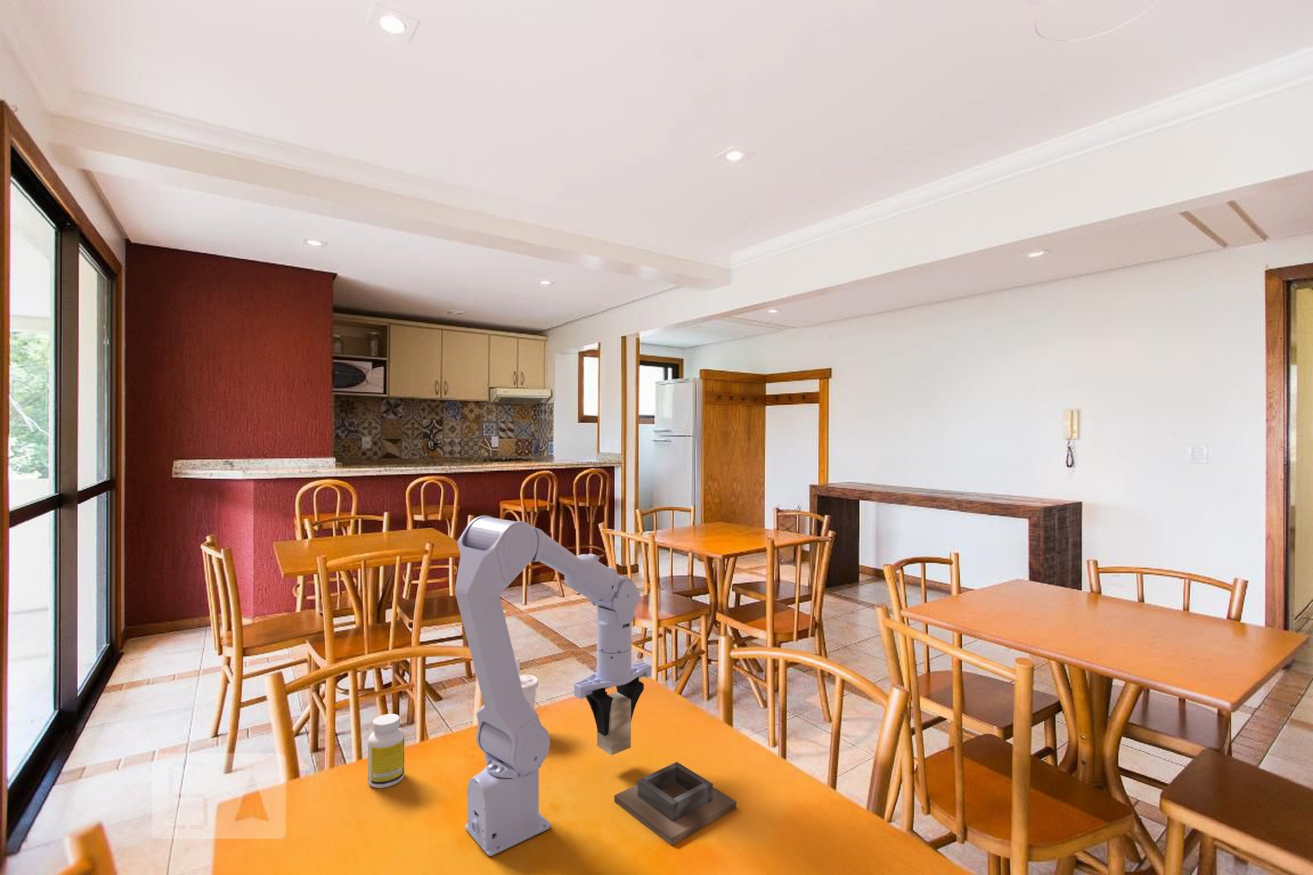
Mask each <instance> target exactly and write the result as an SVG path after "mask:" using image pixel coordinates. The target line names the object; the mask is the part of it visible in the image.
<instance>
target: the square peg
mask: <svg viewBox="0 0 1313 875" xmlns="http://www.w3.org/2000/svg"><path fill="white" fill-rule="evenodd" d="M607 695H609V696H611V697H612V698H613V701H612V704H611V708H610V714H609V731H608V735H606V736H603V735H602V734H600V733H599V732H598V731H597V730H596V746H597V747H598V748H599V749H601V750H602V751H604V752H605V753H607V754H608V755H609V756H613V755H616V754H619V753H620V752H624V751H626V750H628V749H631V747H632V736H631V735H632V730H631V729H632V720H631V699H629V698H627V697H625V696H624V695H622V694H620V693H618V692H617V691H614V692H611V693H607Z"/></svg>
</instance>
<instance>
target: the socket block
mask: <svg viewBox="0 0 1313 875" xmlns="http://www.w3.org/2000/svg"><path fill="white" fill-rule="evenodd" d="M613 799H614V800H613V801H614V803H615V804H617V805H618V806H619V807H621V809H623V810H624V811H625V812H626V813H628V814H629V815H631V816H632V817H634V818H635V819H636V820H638V821H639V822H640V823H641V824H642V825H644V826H645V827H646V828H647V829H648V830H650V831H651V832H653V833H654V834H656V835H657V836H658V837H659V838H660V839H662V840H663V841H664V842H666V844H669V845H670V846H674V845H675V844H677V843H679V842H680V841H682V840H684V839H686V838H687V837H688V836H691V835H692V834H694V833H696V832H697V831H699V830H701V829H702V828H705V827H706V826H708V825H709V824H712V823H714V822H715V821H716V820H718V819H720V818H722V817H724V816H726V815H727V814H729V813H731V812H732V811H734V810H736V809H737V808H738V807H737V801H736V800H735V799H733V798H732V797H730V796H728V795H726V794H725V793H724V792H722V791H720V790H719V789H717V788H716V787H714V783H713V782H711V781H710V780H708V779H706V778H704V777H702V776H701V775H699V774H698V773H696V772H694V771H693V770H691V769H689V768H688V767H686V766H685V765H683V764H682V763H679V761H676V762H673V763H671V764H669V765H667V766H665V767H663V768H661V769H658V770H656V771H655V772H654V771H653V772H652V773H650V774H647V775H645V776H643V777H642V778H639V779H637V784H636V785H633V786H631V787H629V788H627V789H625V790H622V791H620V792H618V793H616V794H614V797H613Z"/></svg>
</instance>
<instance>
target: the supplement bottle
mask: <svg viewBox="0 0 1313 875" xmlns="http://www.w3.org/2000/svg"><path fill="white" fill-rule="evenodd" d="M400 718H401V717H400V715H398V714H395V713H387V714H382V715H378V716H377V717H375V718H374V719H373V720H372V731H373V732H371V734H370V735H369V736H368V738H367V783H368V785H369V786H371V787H372V788H376V789H383V788H385V789H386V788H388V787H392V786H395V785H397V784H398V783H400V782H401V781H402V780H403V779H404V778H405V777H404V776H405V732H404V730H403V729H402V728H400V725H401V719H400Z"/></svg>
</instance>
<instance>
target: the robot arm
mask: <svg viewBox="0 0 1313 875" xmlns="http://www.w3.org/2000/svg"><path fill="white" fill-rule="evenodd" d="M456 544H457V547H458V550H459V555H460V557H459V563H458V569H457V573H456V574H457V575H456V582H455V589H454V590H455V598H456V601H457V606H458V610H459V612H460V613H459V614H460V616H461V621H462V626H463V629H464V633H465V637H466V640H467V641H466V642H467V644H468V648H469V652H470V655H471V660H472V664H473V667H474V668H473V669H474V672H475V675H476V679H477V681H478V686H479V690H480V694H481V698H482V703H483V705H481V706H480V708H479V709H478V710H477V712H476V713H475V714H476V718H477V722H478V724H477V731H476V744H477V745H478V748H479V749H480V751H482V752H484V761H485V762H486V766H485V767H484V769H483V770H481V771H480V772H478V773H477V774H476V775H474V776H473V777H471V778H470V779H469V781H468V783H467V792H466V793H467V794H466V796H467V823H466V824H465V826H464V827H465V828H464V829H465V830H466V831H467V832H468V833H469V835H471V837H472V838H473V839H474V840H475V842H476V844H478V845H479V846H480V847H481V849H482V850H483V852H485V854H486V855H487V856H489V857H492V856H494V855H496V854H500V853H501V852H503V851H505V850H507V849H509V848H511V847H514V846H515V845H518V844H519V843H522V842H524V841H526V840H528V839H530V838H533V837H535V836H537V835H538V834H541V833H543V832H545V831H547V830H549V829H551V827H552V824H551V822H550V821H549V820H548V819H547V818H546V817H545V816H543V814H541V813H540V793H539V792H540V779H539V778H540V777H539V776H540V771H539V770H540V768H542V764H543V763H544V761H545V760H546V759H547V756H548V753H549V751H550V745H551V738H550V733H549V731H548V730H547V728H546V727H545V726H543V725H542V723H541V721H540V717H539V714H538V713H537V711H536V710H535V707H534V708H533V707H532V706H531V705H530V703H529V702H528V701H527V700H526V698H525V697H524V694H523V690H522V686H521V681H520V677H519V675H520V672H519V673H518V669H517V665H516V658H515V653H514V649H513V645H512V640H511V637H510V636H511V635H510V632H509V628H508V625H507V624H508V623H507V620H506V616H505V613H504V608H503V604H502V600H501V594H502V593H503V591H504V590H505V589H507V588H508V587H509V585H510V584H511V583H512V582H513V581H515V580H516V578H517V577H518V576H519V575H520V573H522V572H523V570H525V569H526V568H527V566H528V565H529V564H530V563H531V562H534V563H536V562H539V563H541V564H543V565H545V566H547V567H548V568H551V569H553V571H556V572H558V573H559V574H562V575H564V581H565V584H566V586H567V587H568V588H570V589H572V590H573V591H575V592H576V593H579V594H580V595H582V596H584V597H585V598H587V599H589V601H590V603H591V605H592V606H593V607H594V606H596V668H595V670H596V672H594V673H592V674H591V675H589V676H587V677H585V678H584V679H582V680H580V681H577V682H575V683H574V684H573V696H575V697H576V698H578V699H580V700H583V699H586V700H587V702H588V704H589V706H590V709H591V712H592V713H593V717H594V721H595V724H596V732H597V731H598V732H599V733H600V734H602V735H603V736H606V735H608V731H609V714H610V708H611V704H612V701H613V698H612V697H611V696H609V695H608V691H606V690H607V689H609V688H614V687H616V692H618V693H620V694H622V695H624V696H625V697H627V698H629V699H631V721H632V718H633V715H634V712H635V709H636V706H637V703H638V700H639V699H640V697H641V694H643V692H644V689H645V685H644V682H642V681H640V679H641V678H649V677H652V665H651V664H649V663H647V662H645V661H643V662H639V663H634V664H632V624H633V623H632V622H633V621H634V619H635V610H636V607H637V605H638V602H639V600H640V591H638V588H637V585H636V584H635V582H634V580H633V579H631V578H630V577H626V576H622V575H619V574H618V573H617V569H616V568H615V567H611V566H606V565H605V564H603V563H602V562H600V561H599V560H600V557H599V556H598V555H596V554H593V553H588V554H586V553H583V554H579V555H575V554H574V553H573V552H571V551H569V550H568V549H567V548H566V547H564V545H561V544H560V543H559V542H557V541H556V540H555V539H553V538H552V537H550V536H549V534H548V535H547V533H545V532H544V531H543V530H542V529H540V528H538V527H534V526H533V525H531V524H530V523H528V522H526V521H522V520H521V521H518V520H516V521H515V520H509V519H503V518H498V517H497V518H496V517H493V516H491V515H480V516H477V517H475V518H473V519H471V521H470V522H469V523H468V524H467V525H466V527H465V529H464V530H463V531H462V533H461V535H460V537H459V538H458V539H457V543H456Z"/></svg>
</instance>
